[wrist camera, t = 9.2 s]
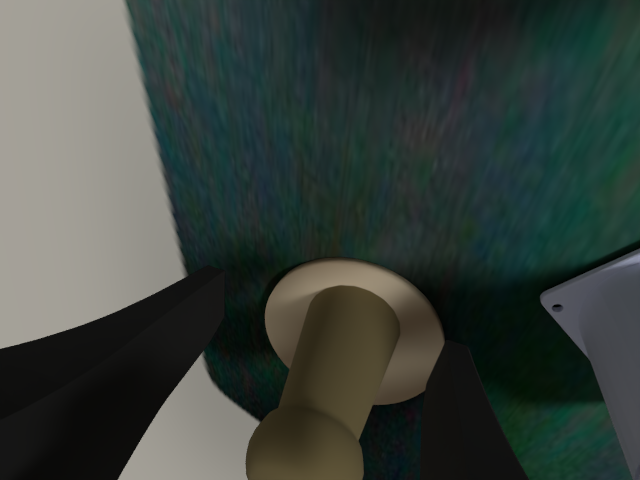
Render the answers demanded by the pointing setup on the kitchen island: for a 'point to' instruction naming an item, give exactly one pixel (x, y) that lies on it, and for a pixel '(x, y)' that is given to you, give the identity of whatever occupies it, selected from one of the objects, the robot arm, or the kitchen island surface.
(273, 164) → the kitchen island surface
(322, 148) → the kitchen island surface
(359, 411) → the pepper shaker
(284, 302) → the cork trivet
